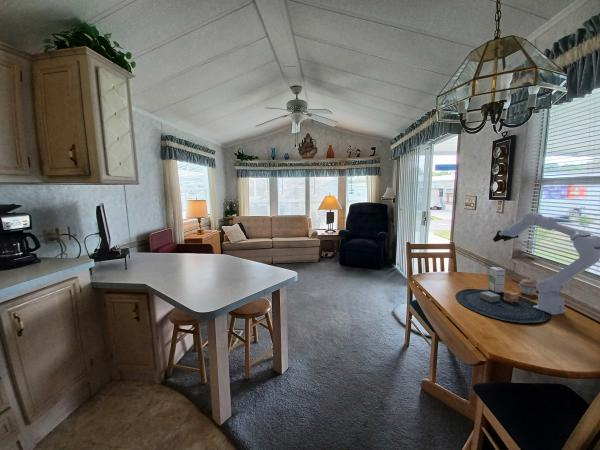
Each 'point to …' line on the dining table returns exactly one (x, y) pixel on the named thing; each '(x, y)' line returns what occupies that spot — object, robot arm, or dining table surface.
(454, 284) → the dining table surface
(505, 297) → the terracotta cube
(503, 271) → the syrup box
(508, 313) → the dining table surface
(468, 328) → the dining table surface
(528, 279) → the cupcake
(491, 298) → the slate slab block
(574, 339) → the dining table surface
